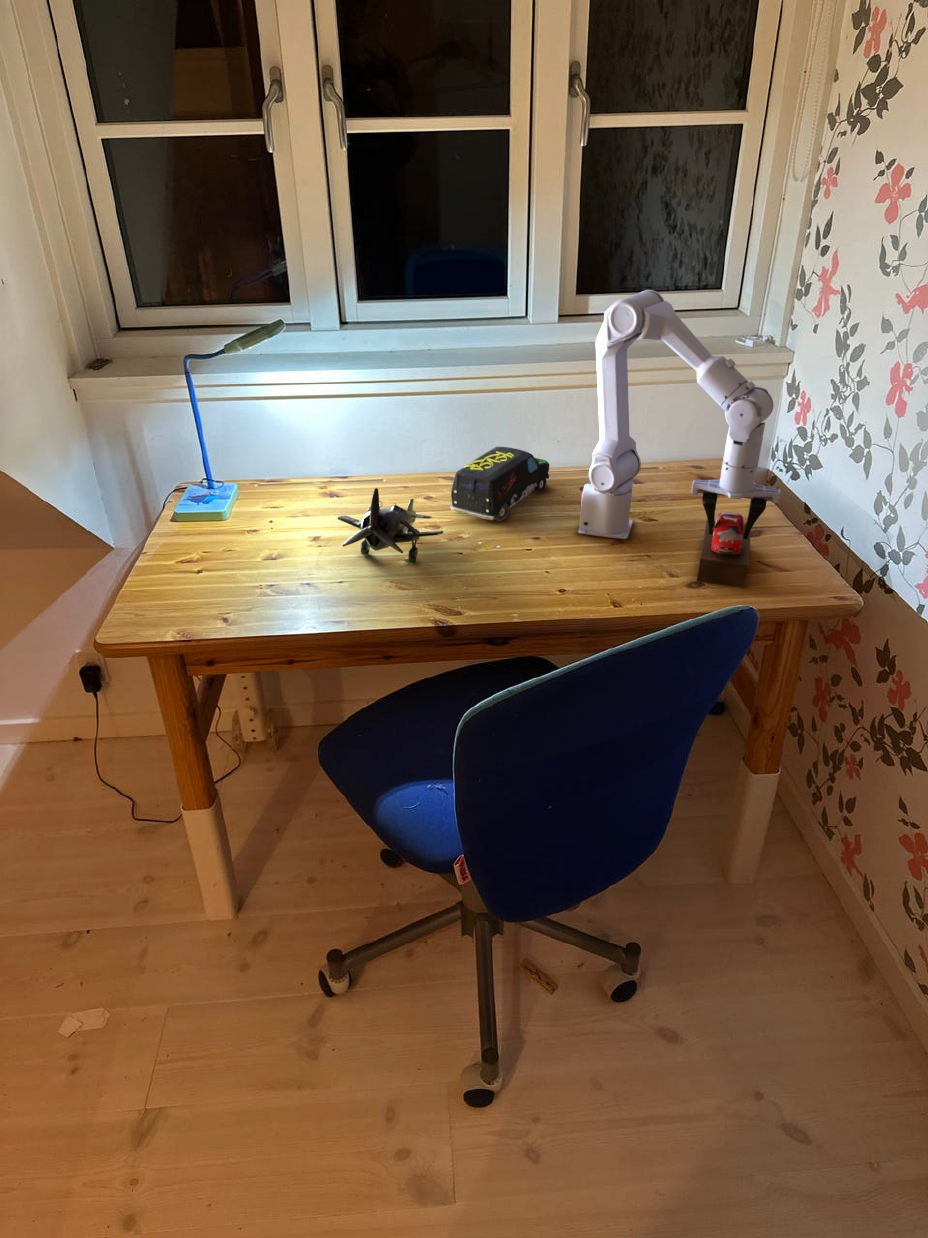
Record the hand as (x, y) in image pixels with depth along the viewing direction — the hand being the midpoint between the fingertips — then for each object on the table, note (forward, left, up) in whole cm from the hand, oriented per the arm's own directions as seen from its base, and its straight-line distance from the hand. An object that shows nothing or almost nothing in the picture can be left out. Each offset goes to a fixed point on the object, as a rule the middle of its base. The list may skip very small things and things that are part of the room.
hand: (727, 534), depth 149 cm
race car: (0, 0, -2) cm, 2 cm away
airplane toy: (-59, -13, -6) cm, 61 cm away
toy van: (-46, +15, -6) cm, 49 cm away
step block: (0, 0, -6) cm, 6 cm away
